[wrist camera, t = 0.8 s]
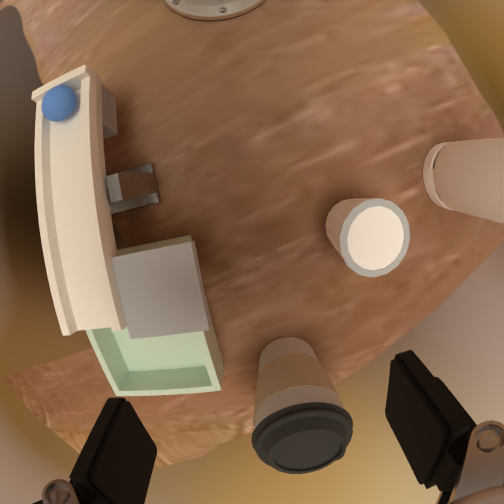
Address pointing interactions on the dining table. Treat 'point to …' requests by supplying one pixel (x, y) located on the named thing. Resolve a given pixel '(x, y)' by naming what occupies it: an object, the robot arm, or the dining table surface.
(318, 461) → the coffee cup
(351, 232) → the shot glass
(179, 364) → the bin
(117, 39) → the dining table surface
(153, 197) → the lever stand
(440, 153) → the bottle
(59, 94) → the ball
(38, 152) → the lever
